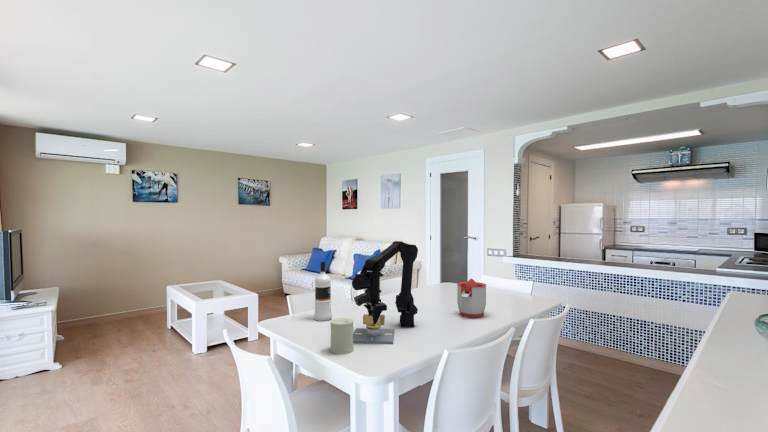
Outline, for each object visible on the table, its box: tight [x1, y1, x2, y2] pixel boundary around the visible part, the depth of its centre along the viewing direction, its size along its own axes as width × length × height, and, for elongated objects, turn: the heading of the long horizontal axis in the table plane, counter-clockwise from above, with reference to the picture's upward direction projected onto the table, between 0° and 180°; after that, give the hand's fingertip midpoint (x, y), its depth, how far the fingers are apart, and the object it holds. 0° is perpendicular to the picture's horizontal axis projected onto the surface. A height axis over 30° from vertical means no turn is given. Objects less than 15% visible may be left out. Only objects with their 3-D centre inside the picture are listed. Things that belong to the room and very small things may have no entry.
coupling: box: [362, 313, 386, 329], centre depth 163 cm, size 6×9×5 cm
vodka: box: [313, 260, 333, 322], centre depth 192 cm, size 9×9×30 cm
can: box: [329, 317, 354, 355], centre depth 147 cm, size 9×9×12 cm
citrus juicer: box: [456, 277, 487, 319], centre depth 198 cm, size 16×17×20 cm
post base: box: [353, 327, 396, 345], centre depth 163 cm, size 18×18×4 cm
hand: (373, 322), depth 163 cm, fingers closed on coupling, 4 cm apart
